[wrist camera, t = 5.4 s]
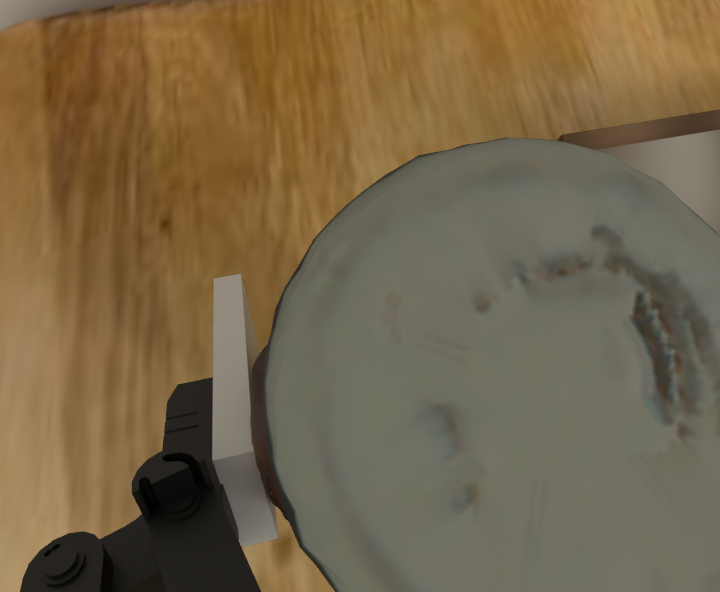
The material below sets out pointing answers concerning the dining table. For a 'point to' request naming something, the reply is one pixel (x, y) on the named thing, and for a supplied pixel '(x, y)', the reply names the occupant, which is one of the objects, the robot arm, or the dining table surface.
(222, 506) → the robot arm
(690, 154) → the walnut plinth
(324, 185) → the dining table surface
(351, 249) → the sauce bottle
